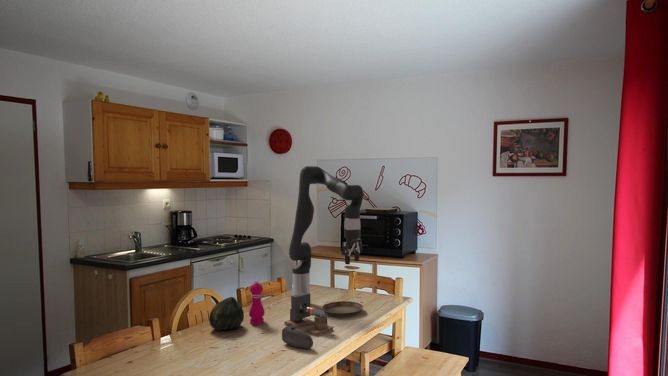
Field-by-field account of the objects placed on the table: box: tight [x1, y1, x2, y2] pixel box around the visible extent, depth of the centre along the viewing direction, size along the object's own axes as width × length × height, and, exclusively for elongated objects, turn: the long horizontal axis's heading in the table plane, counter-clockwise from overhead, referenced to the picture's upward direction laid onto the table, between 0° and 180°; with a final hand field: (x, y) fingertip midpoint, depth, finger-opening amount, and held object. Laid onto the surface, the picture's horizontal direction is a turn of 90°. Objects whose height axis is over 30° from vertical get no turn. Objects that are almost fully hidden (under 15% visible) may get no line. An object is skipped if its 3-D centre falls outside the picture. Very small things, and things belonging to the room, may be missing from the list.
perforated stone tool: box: [281, 325, 314, 349], centre depth 176 cm, size 15×5×7 cm, turn 52°
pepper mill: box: [248, 279, 265, 325], centre depth 207 cm, size 7×7×20 cm
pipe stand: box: [283, 308, 334, 337], centre depth 199 cm, size 22×10×7 cm, turn 44°
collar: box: [290, 292, 312, 320], centre depth 202 cm, size 3×9×10 cm, turn 134°
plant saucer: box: [321, 300, 364, 319], centre depth 221 cm, size 21×21×3 cm
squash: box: [208, 296, 245, 331], centre depth 199 cm, size 14×15×15 cm
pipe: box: [300, 304, 327, 318], centre depth 199 cm, size 20×3×3 cm, turn 44°
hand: (352, 262), depth 205 cm, fingers open, 8 cm apart
